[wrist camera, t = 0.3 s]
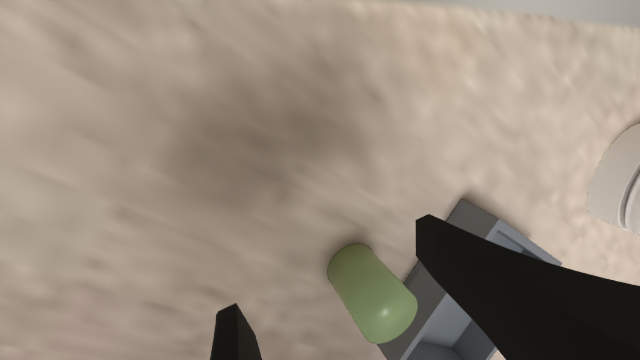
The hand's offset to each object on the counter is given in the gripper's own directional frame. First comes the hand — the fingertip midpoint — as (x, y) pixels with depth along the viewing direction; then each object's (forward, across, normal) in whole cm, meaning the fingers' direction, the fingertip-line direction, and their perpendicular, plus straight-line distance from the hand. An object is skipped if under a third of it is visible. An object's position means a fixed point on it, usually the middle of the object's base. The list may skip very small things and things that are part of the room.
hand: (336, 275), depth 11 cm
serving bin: (+8, -14, +21) cm, 26 cm away
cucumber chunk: (+9, -4, +12) cm, 15 cm away
